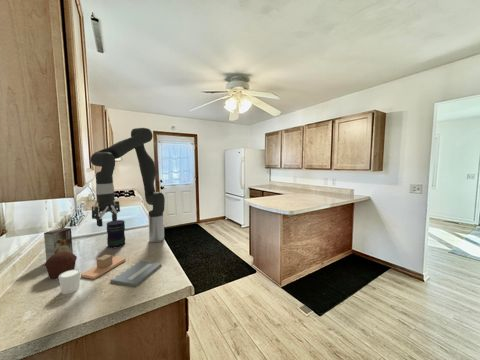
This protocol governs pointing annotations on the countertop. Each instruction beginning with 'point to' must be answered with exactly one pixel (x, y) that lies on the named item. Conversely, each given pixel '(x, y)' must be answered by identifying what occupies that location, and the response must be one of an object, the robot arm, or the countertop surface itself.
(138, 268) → the board
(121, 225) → the storage jar
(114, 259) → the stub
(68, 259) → the muffin
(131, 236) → the countertop surface
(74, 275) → the shot glass
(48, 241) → the coffee box
